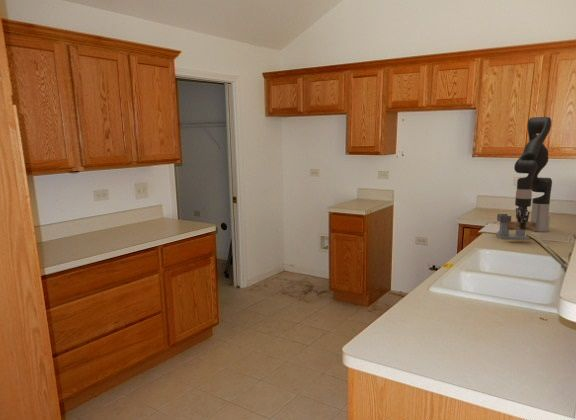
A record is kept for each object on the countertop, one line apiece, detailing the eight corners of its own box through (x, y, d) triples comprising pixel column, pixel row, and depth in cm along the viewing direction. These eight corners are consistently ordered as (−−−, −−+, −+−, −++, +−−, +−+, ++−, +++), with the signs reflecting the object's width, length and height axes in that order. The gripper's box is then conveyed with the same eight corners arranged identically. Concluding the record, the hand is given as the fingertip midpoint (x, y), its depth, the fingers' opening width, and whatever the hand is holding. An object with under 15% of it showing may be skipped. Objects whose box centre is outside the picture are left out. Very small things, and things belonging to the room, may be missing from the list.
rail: (531, 228, 227) (532, 221, 226) (535, 230, 223) (535, 222, 222) (507, 228, 228) (507, 221, 227) (510, 230, 224) (510, 222, 223)
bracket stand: (523, 236, 241) (525, 214, 239) (529, 239, 234) (530, 216, 232) (496, 235, 244) (497, 213, 242) (500, 238, 236) (501, 215, 235)
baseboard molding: (475, 233, 255) (496, 235, 248) (475, 228, 255) (497, 230, 248) (485, 225, 280) (504, 227, 273) (485, 221, 280) (505, 223, 273)
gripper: (536, 199, 215) (533, 231, 218) (526, 195, 229) (524, 225, 231) (520, 198, 216) (518, 230, 219) (511, 195, 230) (509, 225, 233)
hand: (521, 228), depth 225 cm, fingers closed on rail, 4 cm apart
